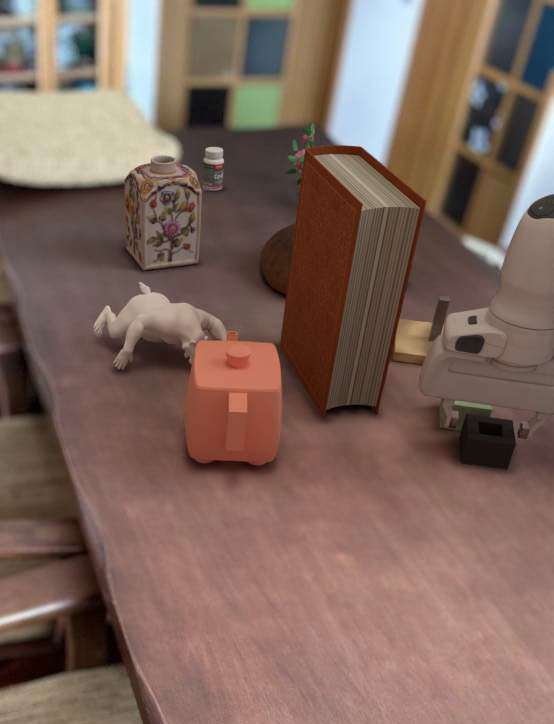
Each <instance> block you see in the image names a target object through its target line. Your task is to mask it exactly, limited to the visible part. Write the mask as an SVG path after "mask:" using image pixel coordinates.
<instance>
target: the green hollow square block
mask: <svg viewBox="0 0 554 724" xmlns="http://www.w3.org/2000/svg"><path fill="white" fill-rule="evenodd" d="M438 408H439V428H440V429H444V430H445V429H446V430H451V431H452V430H453V431H460V432H461V430H462V426H463V423H464V420H465V417H466V414H471V415H478V416H485V417H491V415H492V412H493V406H491V405H484V404H478V403H471V402H464V401H457V400H455V402H454V405H453V406H451V408H452V410H453V411H458V412H459V414H458V416H459V419H458V423H456V424H457V426H456V428H450V427H444V419H445V416H446V413H445V411H444V408H443V405H442V398H440V402H439V407H438Z"/></svg>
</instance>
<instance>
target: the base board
mask: <svg viewBox="0 0 554 724" xmlns="http://www.w3.org/2000/svg"><path fill="white" fill-rule="evenodd" d="M450 298H451V297H450V296H447V295H439V296H438V299H437V303H436V307H435V311H434V314H433V318H432V321H431V322H429V321H421V320H414V319H413V320H412V319H404V318H399V323H398V327H397V332H396V336H395V340H394V345H393V349H392V361H395V362H402V363H409V364H410V363H411V364H418V365H423V363H424V360H425V358H426V355H427V353H428V351H429V349H430V347H431V345H432V343H433V341H434V340H435V339H436V338H437V337H438V336H439V335H441V334H443V328H444V323H445V320H446V317H447V315H448V310H449V306H450V303H451V299H450Z"/></svg>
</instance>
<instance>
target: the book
mask: <svg viewBox="0 0 554 724" xmlns="http://www.w3.org/2000/svg"><path fill="white" fill-rule="evenodd" d="M305 148H306V147H305ZM305 148H304V149H305ZM300 178H301V184H299V186H300V187H299V193H298V201H297V209H296V216H295V223H296V224H295V223H294V224H295V232H294V240H293V247H292V255H291V263H290V271H289V279H288V286H287V294H285V295H286V296H285V303H284V311H283V317H282V318H283V319H282V327H281V335H280V340H279V348H280V350H281V351H282V353H283V354H284V356H285V358H286V359H287V361H288V363H289V365H290V366H291V368H292V369H293V372H294V374H295V375H296V377H297V378H298V380H299V381H300V383H301V385H302V386H303V388H304V390H305V392H306V393H307V395H308V397H309V398H310V400H311V402H312V404H313V405H314V407H315V408H316V411H317V412H318V414H319V416H320V417H321V419H322V420H325V418H326V412H327V410H330V409H332V408H336V407H342V406H353V405H355V406H357V405H358V406H361V405H362V406H370V408H371V410H372V411H373V412H374V414H375V416H377V415H379V410H380V407H381V406H380V405H381V401H382V396H383V393H384V389H385V383H386V379H387V376H388V371H389V366H390V363H391V362H390V361H391V357H392V355H393V349H394V340H395V336H396V332H397V327H398V323H399V319H401V314H402V309H403V305H404V300H405V297H406V293H407V292H406V291H407V287H408V282H409V278H410V276H411V274H410V270H411V266H412V264H413V260H414V257H415V252H416V248H417V243H418V239H419V234H420V231H421V226H422V221H423V217H424V213H425V208H426V204H427V200H426V199H425V198H424V197H423V196H421V194H420V193H418V192H417V191H415V190H414V189H413V188H412V187H411V186H409V185H408V183H406V182H404V181H403V179H401V178H400V177H399V176H398V175H396V174H395V173H394V172H393V171H392V170H391V169H390V168H388V167H387V166H385V165H384V164H383V163H382V162H381V161H379V160H378V159H377V158H376V157H374V155H373V154H371V153H370V152H368V151H367V150H366V149H365V148H364V147H363V146H359V145H344V144H343V145H342V144H337V145H336V144H335V145H333V144H332V145H323V146H321V145H317V146H314V147H313V146H312V147H311V146H310V148H306V149H305V153H304V161H303V169H302V170H301V177H300ZM409 275H410V276H409Z"/></svg>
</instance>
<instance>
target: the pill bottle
mask: <svg viewBox="0 0 554 724" xmlns="http://www.w3.org/2000/svg"><path fill="white" fill-rule="evenodd" d="M204 150H205V151H204V155H205V157H204V158H203V160H202V161H203V162H202V179H201V180H202V181H201V188H202V189H203V190H206V191H208V192H216V191H220V190H222V189H223V184H222V183H224V169H225V159H224V157H223V156H224V149H223V147H219V146H209V147H206V148H205V149H204ZM202 182H203V183H204V184H208V185H220V184H222V185H221V186H218V187H208V186H205V185H203V184H202Z"/></svg>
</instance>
